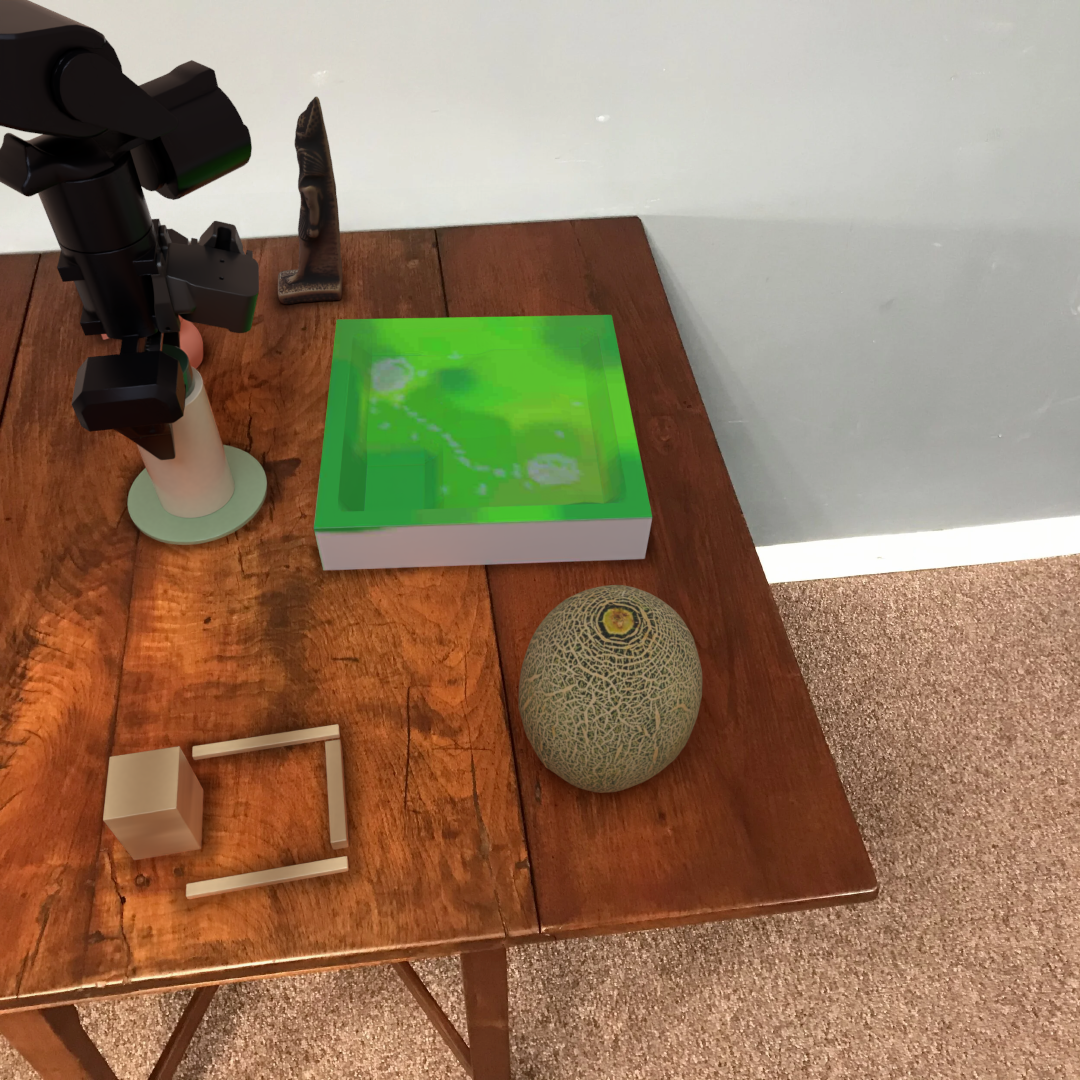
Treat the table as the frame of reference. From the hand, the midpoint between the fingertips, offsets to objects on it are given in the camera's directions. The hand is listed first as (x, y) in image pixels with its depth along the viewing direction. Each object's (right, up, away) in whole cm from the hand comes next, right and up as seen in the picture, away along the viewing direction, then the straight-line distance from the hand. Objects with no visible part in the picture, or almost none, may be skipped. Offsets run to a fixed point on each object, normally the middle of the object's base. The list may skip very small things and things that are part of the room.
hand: (171, 415), depth 70 cm
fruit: (+32, -23, -7) cm, 40 cm away
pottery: (-10, +11, +21) cm, 25 cm away
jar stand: (+9, -27, -11) cm, 30 cm away
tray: (+22, -2, +11) cm, 25 cm away
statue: (+5, +16, +25) cm, 30 cm away
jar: (-5, -5, +4) cm, 8 cm away
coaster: (0, -6, +7) cm, 9 cm away
